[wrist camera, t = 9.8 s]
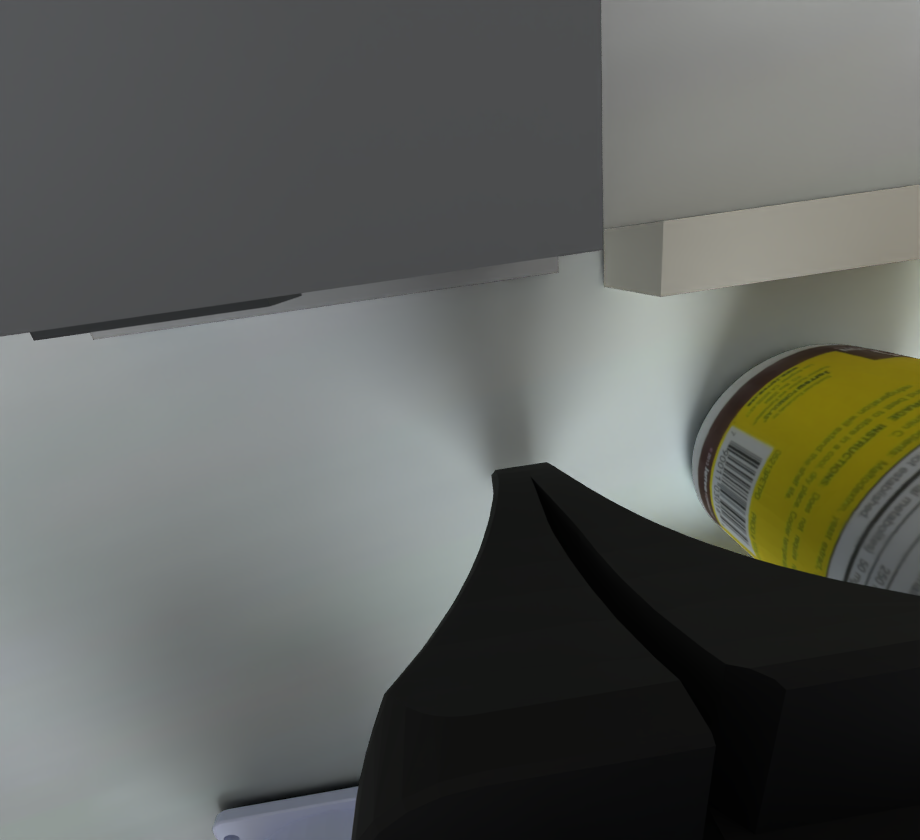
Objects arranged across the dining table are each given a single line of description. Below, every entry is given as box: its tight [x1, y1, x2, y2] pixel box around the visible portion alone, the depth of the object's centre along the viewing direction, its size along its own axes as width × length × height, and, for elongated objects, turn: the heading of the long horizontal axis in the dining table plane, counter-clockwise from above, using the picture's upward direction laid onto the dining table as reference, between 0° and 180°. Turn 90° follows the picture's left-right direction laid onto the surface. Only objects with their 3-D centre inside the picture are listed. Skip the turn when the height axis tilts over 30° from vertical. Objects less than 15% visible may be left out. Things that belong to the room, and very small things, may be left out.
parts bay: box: [604, 184, 920, 297], centre depth 10 cm, size 11×11×2 cm
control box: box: [0, 0, 603, 341], centre depth 6 cm, size 6×10×5 cm, turn 98°
